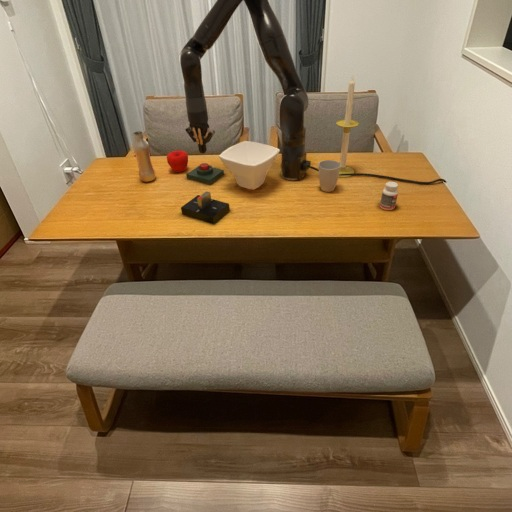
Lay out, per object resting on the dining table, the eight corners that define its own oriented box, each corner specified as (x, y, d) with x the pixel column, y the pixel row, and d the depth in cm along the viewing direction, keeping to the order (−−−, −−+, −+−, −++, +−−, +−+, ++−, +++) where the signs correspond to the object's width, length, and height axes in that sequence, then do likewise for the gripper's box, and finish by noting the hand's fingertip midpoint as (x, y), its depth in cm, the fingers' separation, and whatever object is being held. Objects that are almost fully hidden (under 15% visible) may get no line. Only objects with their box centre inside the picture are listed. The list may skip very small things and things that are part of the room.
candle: (327, 167, 164) (335, 72, 141) (351, 166, 164) (363, 71, 141) (332, 178, 156) (341, 79, 133) (356, 176, 156) (370, 78, 133)
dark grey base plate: (224, 174, 162) (223, 166, 160) (210, 184, 156) (209, 175, 153) (201, 169, 167) (200, 160, 165) (186, 178, 161) (185, 170, 158)
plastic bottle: (158, 176, 163) (148, 129, 151) (153, 183, 158) (142, 136, 146) (143, 176, 164) (132, 129, 152) (138, 183, 159) (126, 136, 146)
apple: (173, 176, 163) (169, 159, 158) (166, 169, 169) (163, 152, 164) (193, 171, 166) (190, 154, 161) (185, 164, 172) (182, 147, 167)
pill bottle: (392, 211, 135) (397, 189, 129) (377, 208, 137) (381, 185, 132) (396, 205, 138) (401, 182, 133) (382, 201, 141) (386, 179, 135)
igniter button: (210, 168, 160) (210, 164, 159) (205, 171, 157) (205, 167, 156) (203, 166, 161) (203, 162, 160) (198, 169, 159) (198, 165, 158)
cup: (340, 185, 151) (343, 161, 145) (334, 195, 145) (337, 170, 139) (320, 182, 154) (322, 158, 148) (314, 191, 148) (315, 167, 142)
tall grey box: (207, 201, 139) (206, 190, 137) (211, 202, 139) (210, 192, 136) (198, 208, 136) (196, 197, 133) (202, 209, 135) (200, 199, 132)
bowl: (245, 170, 164) (243, 139, 156) (284, 181, 155) (284, 148, 147) (217, 188, 153) (213, 155, 144) (257, 202, 144) (256, 167, 135)
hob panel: (229, 210, 140) (229, 203, 138) (213, 224, 133) (213, 216, 131) (198, 201, 145) (197, 194, 143) (182, 214, 139) (180, 207, 137)
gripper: (217, 107, 144) (221, 151, 154) (188, 103, 149) (195, 146, 160) (205, 113, 139) (211, 159, 149) (176, 109, 144) (184, 153, 155)
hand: (202, 152), depth 154 cm, fingers closed
